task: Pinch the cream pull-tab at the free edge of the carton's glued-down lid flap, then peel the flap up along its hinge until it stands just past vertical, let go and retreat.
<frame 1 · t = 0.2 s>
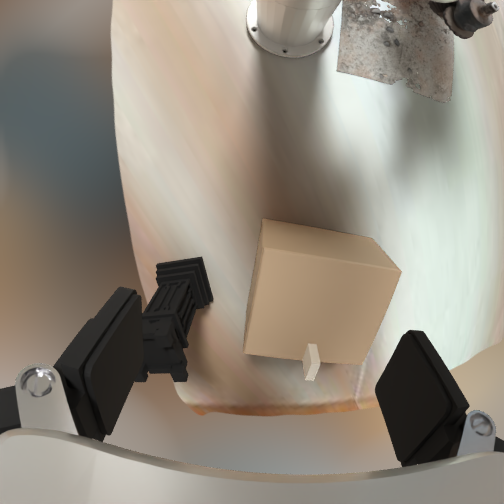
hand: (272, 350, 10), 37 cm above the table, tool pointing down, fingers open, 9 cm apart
chess piece: (185, 281, 51), on the table
carton: (308, 274, 49), on the table
lid flap: (323, 324, 36), point 14 cm above the table, hinge at 0.0°
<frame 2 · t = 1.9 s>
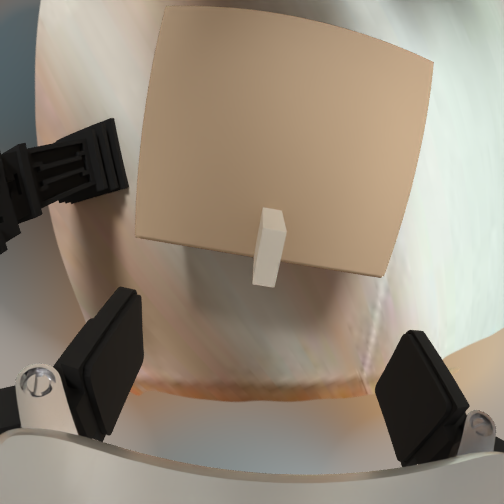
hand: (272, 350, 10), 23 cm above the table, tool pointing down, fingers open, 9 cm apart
chess piece: (92, 161, 30), on the table
carton: (275, 136, 29), on the table
lid flap: (288, 136, 15), point 14 cm above the table, hinge at 0.0°
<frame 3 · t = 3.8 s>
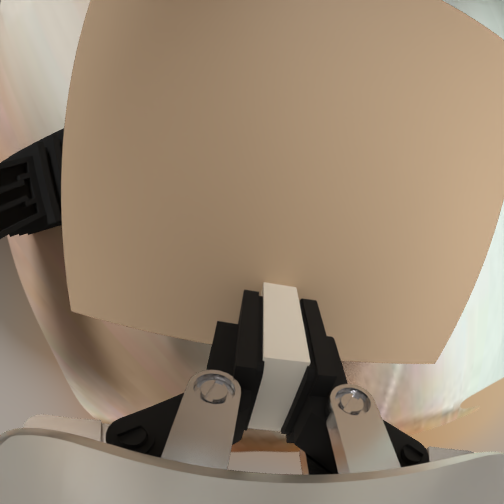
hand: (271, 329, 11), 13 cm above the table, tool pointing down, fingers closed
chess piece: (49, 182, 22), on the table
lid flap: (317, 160, 8), point 14 cm above the table, hinge at 0.0°, touching gripper
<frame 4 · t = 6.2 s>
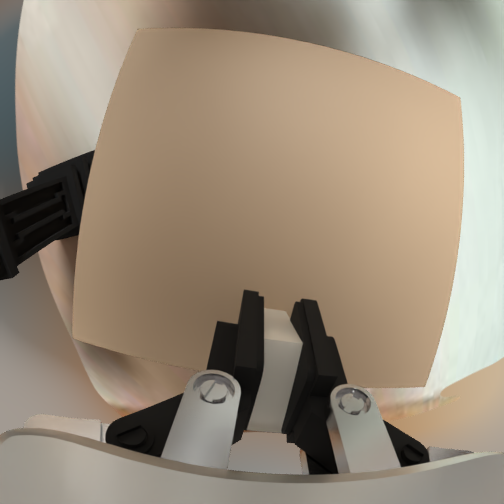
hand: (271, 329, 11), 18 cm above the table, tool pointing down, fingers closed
chess piece: (76, 196, 28), on the table
lid flap: (297, 189, 10), point 17 cm above the table, hinge at 20.1°, touching gripper
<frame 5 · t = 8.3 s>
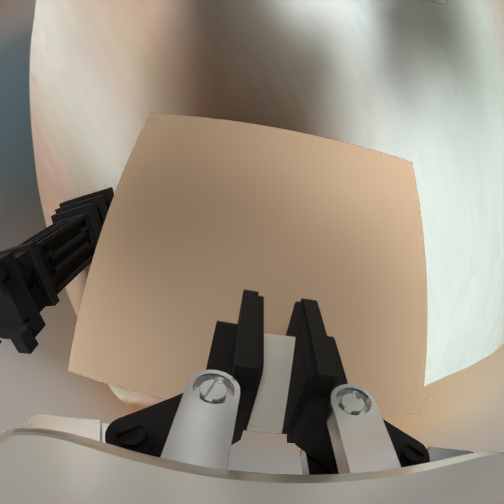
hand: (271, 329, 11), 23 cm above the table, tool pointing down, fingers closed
chess piece: (95, 225, 34), on the table
lid flap: (280, 232, 13), point 19 cm above the table, hinge at 44.1°, touching gripper
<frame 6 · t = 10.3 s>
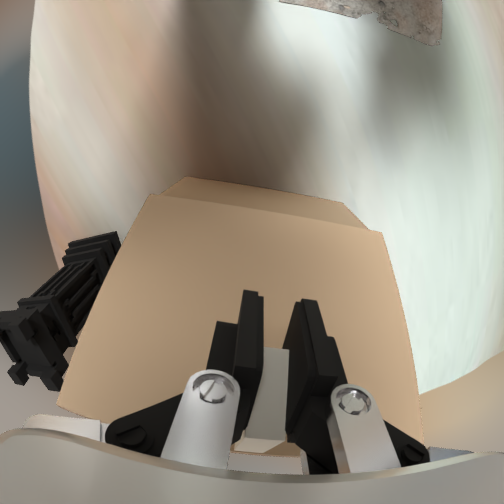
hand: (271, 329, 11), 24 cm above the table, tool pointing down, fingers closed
chess piece: (102, 263, 38), on the table
carton: (253, 253, 36), on the table
lid flap: (267, 283, 15), point 20 cm above the table, hinge at 67.6°, touching gripper
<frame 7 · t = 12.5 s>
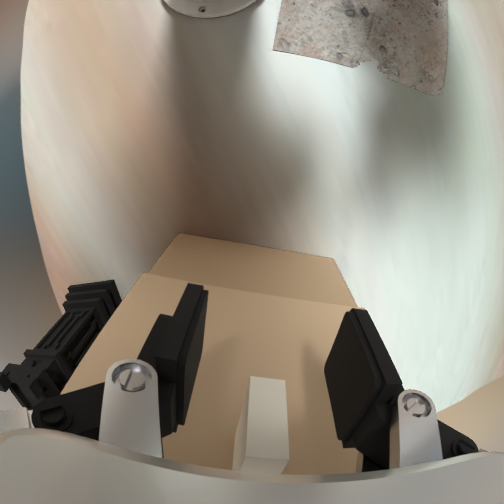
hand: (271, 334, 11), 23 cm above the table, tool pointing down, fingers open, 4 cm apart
chess piece: (101, 307, 39), on the table
carton: (245, 305, 37), on the table
lid flap: (258, 343, 15), point 20 cm above the table, hinge at 89.1°
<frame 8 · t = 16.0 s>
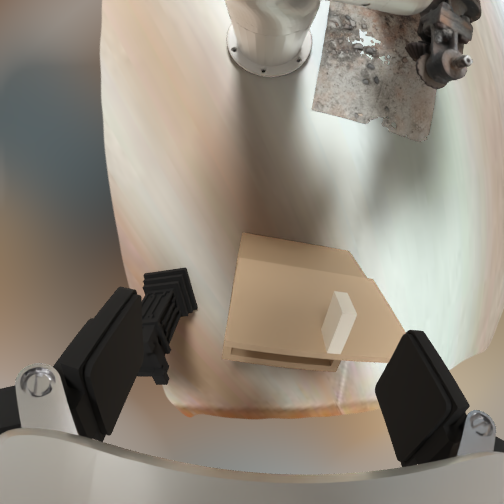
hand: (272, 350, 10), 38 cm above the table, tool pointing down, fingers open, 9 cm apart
chess piece: (171, 290, 53), on the table
carton: (287, 285, 52), on the table
valve: (389, 16, 34), on the table
lid flap: (324, 288, 29), point 20 cm above the table, hinge at 89.1°
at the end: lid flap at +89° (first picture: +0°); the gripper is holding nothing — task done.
